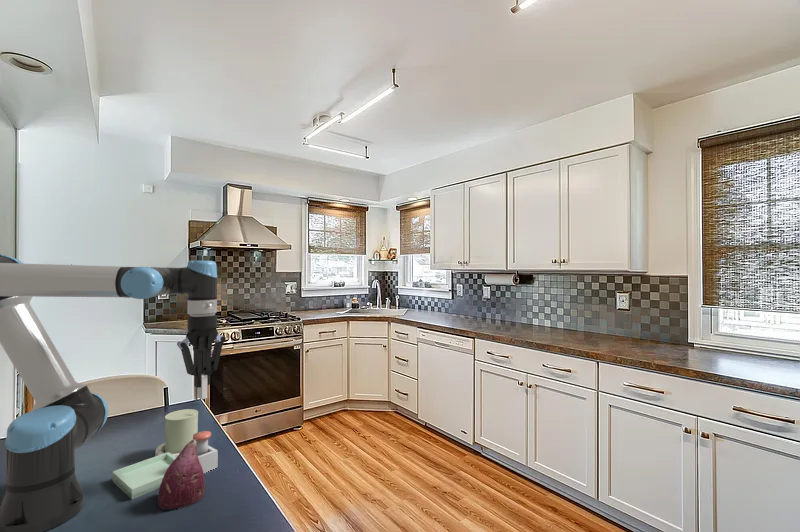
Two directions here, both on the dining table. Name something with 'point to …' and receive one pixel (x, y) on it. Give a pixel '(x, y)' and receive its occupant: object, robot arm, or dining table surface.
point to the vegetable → (182, 480)
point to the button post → (209, 459)
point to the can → (180, 429)
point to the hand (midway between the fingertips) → (202, 397)
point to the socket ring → (162, 450)
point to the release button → (202, 442)
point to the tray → (143, 475)
